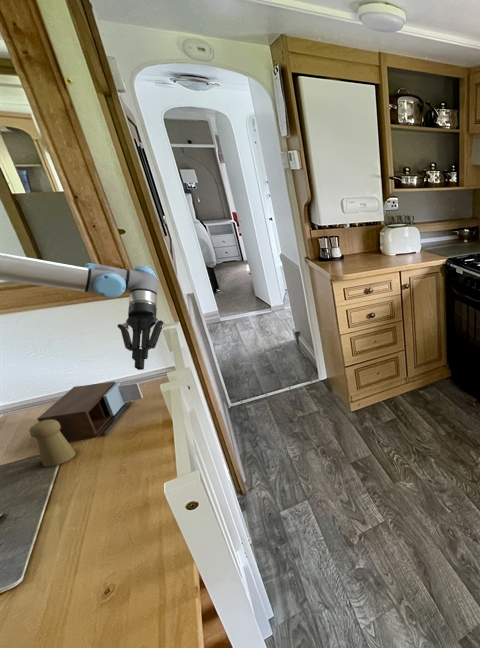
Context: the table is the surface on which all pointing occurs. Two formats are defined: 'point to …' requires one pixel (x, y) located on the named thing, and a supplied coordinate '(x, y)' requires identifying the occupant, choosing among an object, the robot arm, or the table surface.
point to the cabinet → (83, 412)
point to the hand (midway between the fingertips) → (139, 368)
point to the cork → (51, 443)
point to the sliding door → (121, 396)
